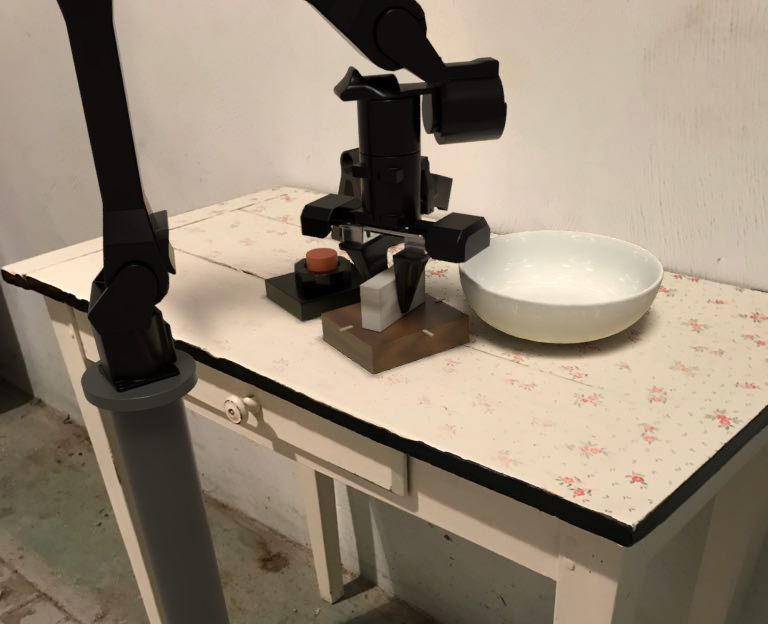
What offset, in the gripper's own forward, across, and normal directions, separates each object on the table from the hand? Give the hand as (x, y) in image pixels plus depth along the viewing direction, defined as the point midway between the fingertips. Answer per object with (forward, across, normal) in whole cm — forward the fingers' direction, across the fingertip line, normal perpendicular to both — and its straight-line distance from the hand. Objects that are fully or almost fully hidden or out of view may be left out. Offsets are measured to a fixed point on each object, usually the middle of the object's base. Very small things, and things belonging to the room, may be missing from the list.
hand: (394, 309), depth 85 cm
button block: (+4, +14, -6) cm, 15 cm away
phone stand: (+4, +20, -26) cm, 33 cm away
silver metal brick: (0, 0, 0) cm, 0 cm away
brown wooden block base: (+4, 0, 0) cm, 4 cm away
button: (0, +14, -6) cm, 15 cm away
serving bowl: (+4, -13, -12) cm, 18 cm away
